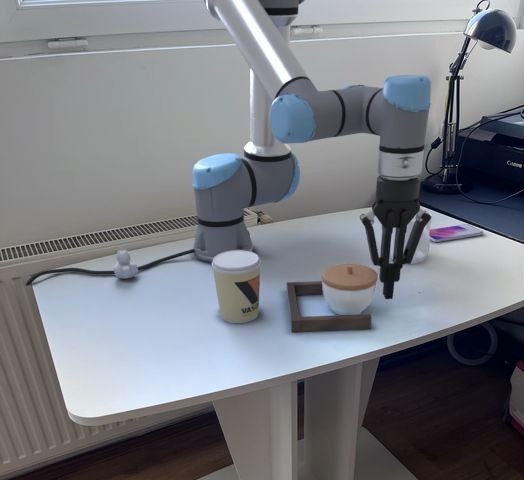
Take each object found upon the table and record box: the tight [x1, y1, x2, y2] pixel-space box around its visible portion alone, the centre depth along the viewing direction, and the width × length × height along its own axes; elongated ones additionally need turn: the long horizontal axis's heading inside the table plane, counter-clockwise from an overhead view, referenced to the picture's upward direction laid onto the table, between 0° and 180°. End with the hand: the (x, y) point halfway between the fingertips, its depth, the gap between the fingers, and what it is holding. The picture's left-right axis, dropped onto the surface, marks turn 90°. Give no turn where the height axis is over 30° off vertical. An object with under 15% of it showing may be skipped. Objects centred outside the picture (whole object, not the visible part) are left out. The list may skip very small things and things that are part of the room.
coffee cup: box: [211, 250, 262, 324], centre depth 100 cm, size 9×9×12 cm
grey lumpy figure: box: [113, 245, 139, 280], centre depth 118 cm, size 5×7×8 cm
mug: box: [390, 211, 433, 265], centre depth 120 cm, size 9×12×11 cm
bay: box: [285, 280, 372, 333], centre depth 103 cm, size 15×17×2 cm
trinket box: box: [321, 262, 378, 315], centre depth 101 cm, size 11×11×9 cm
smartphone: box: [429, 223, 484, 243], centre depth 136 cm, size 7×1×15 cm
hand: (387, 296), depth 102 cm, fingers closed
